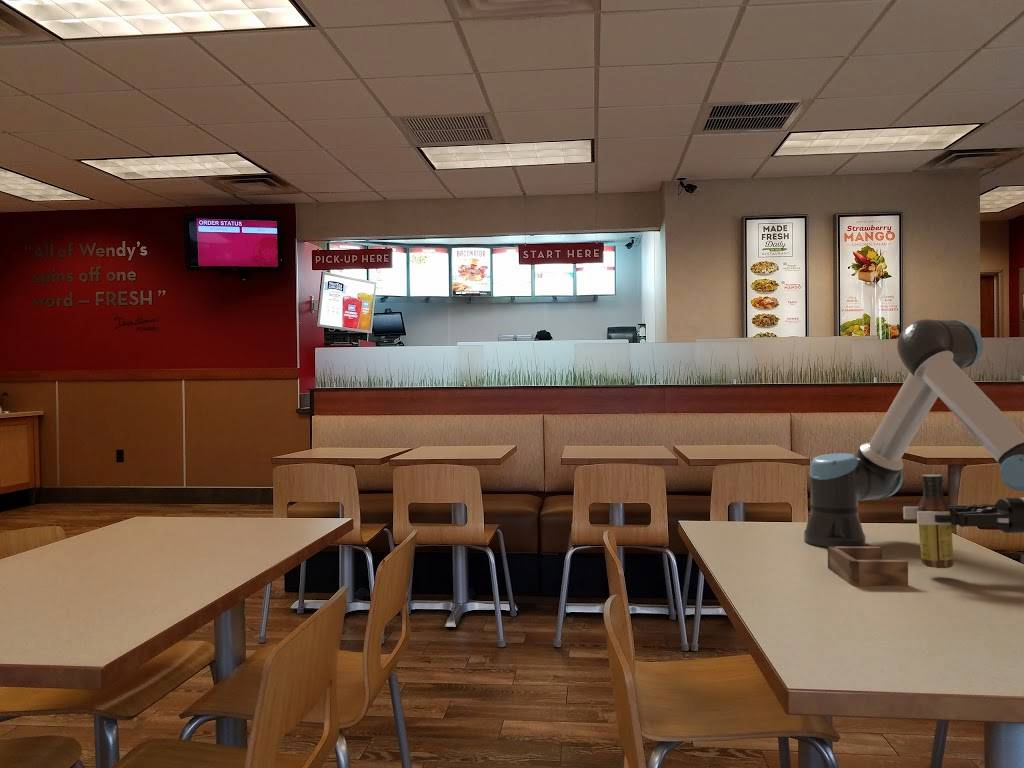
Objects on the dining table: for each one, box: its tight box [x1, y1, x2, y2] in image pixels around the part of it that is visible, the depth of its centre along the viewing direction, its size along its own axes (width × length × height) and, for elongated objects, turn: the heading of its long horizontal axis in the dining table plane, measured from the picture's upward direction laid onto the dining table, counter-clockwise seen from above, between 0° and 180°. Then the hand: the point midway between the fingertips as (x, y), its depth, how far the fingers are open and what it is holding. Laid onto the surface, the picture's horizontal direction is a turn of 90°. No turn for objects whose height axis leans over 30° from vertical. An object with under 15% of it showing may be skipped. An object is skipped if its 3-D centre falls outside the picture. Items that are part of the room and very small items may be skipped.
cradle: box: [827, 546, 909, 587], centre depth 168 cm, size 12×15×5 cm
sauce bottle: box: [917, 473, 954, 569], centre depth 166 cm, size 7×6×20 cm
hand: (911, 515), depth 167 cm, fingers closed on sauce bottle, 6 cm apart
